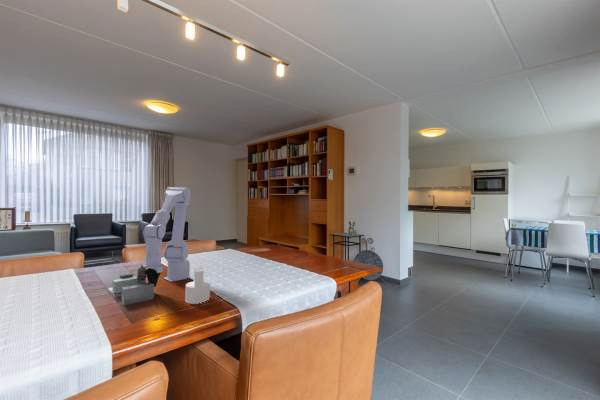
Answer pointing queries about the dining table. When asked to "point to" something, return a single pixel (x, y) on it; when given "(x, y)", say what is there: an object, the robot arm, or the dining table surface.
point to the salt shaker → (141, 275)
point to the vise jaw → (124, 282)
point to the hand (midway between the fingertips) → (152, 286)
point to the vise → (135, 293)
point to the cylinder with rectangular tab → (197, 288)
